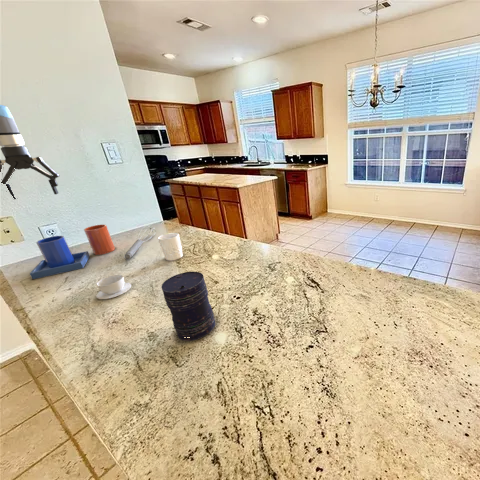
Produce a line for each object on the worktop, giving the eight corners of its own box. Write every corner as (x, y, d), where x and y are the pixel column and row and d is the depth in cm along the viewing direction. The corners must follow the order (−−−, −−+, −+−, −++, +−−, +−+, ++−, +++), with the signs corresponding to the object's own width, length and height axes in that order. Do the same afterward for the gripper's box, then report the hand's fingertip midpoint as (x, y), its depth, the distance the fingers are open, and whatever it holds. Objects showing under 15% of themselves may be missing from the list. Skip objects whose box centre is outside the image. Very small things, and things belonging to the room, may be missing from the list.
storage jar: (177, 322, 74) (159, 266, 67) (214, 312, 78) (200, 258, 71) (175, 346, 66) (154, 285, 59) (217, 333, 69) (201, 274, 62)
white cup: (160, 260, 112) (153, 238, 108) (174, 252, 119) (168, 232, 115) (174, 262, 110) (168, 240, 106) (188, 254, 117) (182, 233, 113)
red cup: (89, 255, 121) (79, 230, 116) (103, 247, 129) (93, 224, 124) (106, 254, 121) (96, 230, 116) (119, 247, 128) (110, 224, 123)
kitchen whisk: (118, 262, 112) (113, 249, 110) (146, 235, 143) (142, 224, 140) (134, 260, 114) (129, 247, 111) (158, 233, 144) (155, 222, 142)
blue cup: (44, 270, 107) (30, 243, 103) (62, 261, 115) (50, 236, 110) (63, 269, 107) (50, 243, 102) (80, 260, 114) (68, 235, 110)
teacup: (138, 286, 94) (134, 274, 92) (109, 302, 85) (104, 290, 83) (119, 282, 97) (114, 271, 95) (89, 297, 88) (84, 285, 87)
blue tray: (32, 279, 102) (29, 273, 101) (44, 265, 113) (41, 260, 112) (83, 268, 109) (80, 262, 108) (89, 256, 120) (87, 251, 119)
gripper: (54, 143, 118) (74, 190, 127) (-26, 148, 107) (1, 199, 115) (49, 144, 112) (70, 193, 121) (-37, 148, 101) (-7, 202, 109)
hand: (36, 196), depth 118 cm, fingers open, 13 cm apart
